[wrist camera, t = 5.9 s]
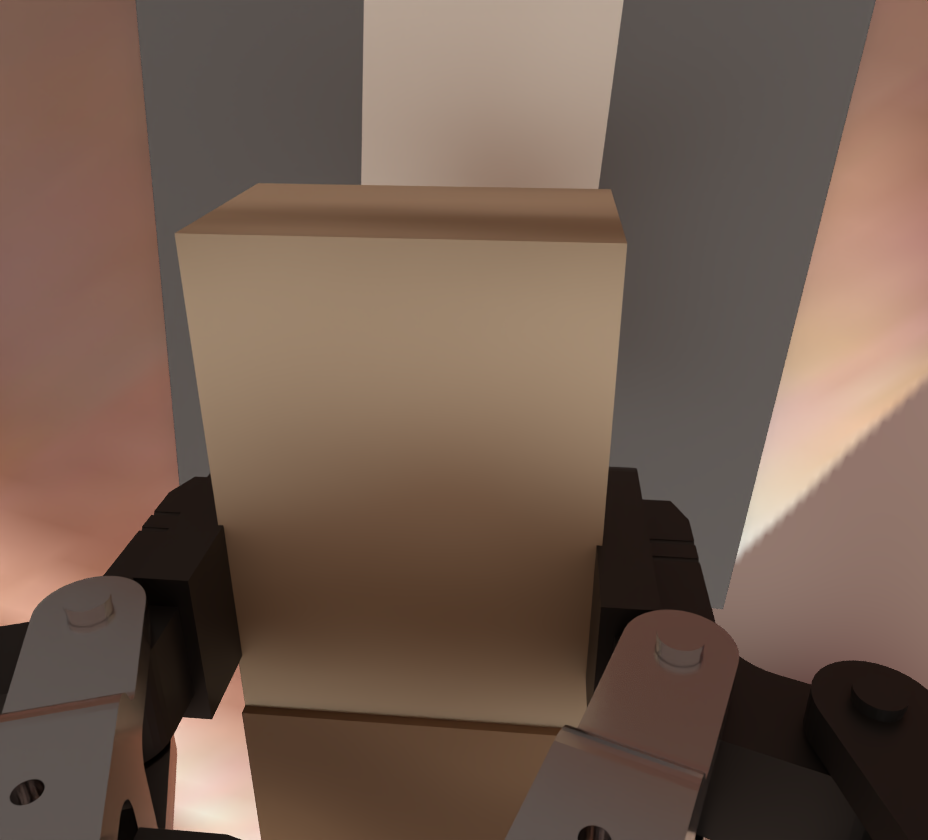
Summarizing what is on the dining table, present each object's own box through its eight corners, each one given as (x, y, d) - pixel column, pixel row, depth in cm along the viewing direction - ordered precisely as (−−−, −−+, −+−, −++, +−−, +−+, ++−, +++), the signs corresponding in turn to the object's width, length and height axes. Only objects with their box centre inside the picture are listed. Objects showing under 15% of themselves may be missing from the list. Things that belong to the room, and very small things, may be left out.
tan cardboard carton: (257, 183, 12) (168, 236, 9) (610, 189, 12) (628, 246, 9) (313, 708, 17) (263, 852, 14) (571, 726, 16) (575, 879, 13)
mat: (189, 543, 32) (184, 550, 32) (136, -58, 24) (128, -59, 23) (720, 602, 31) (723, 611, 31) (871, -5, 23) (877, -4, 22)
